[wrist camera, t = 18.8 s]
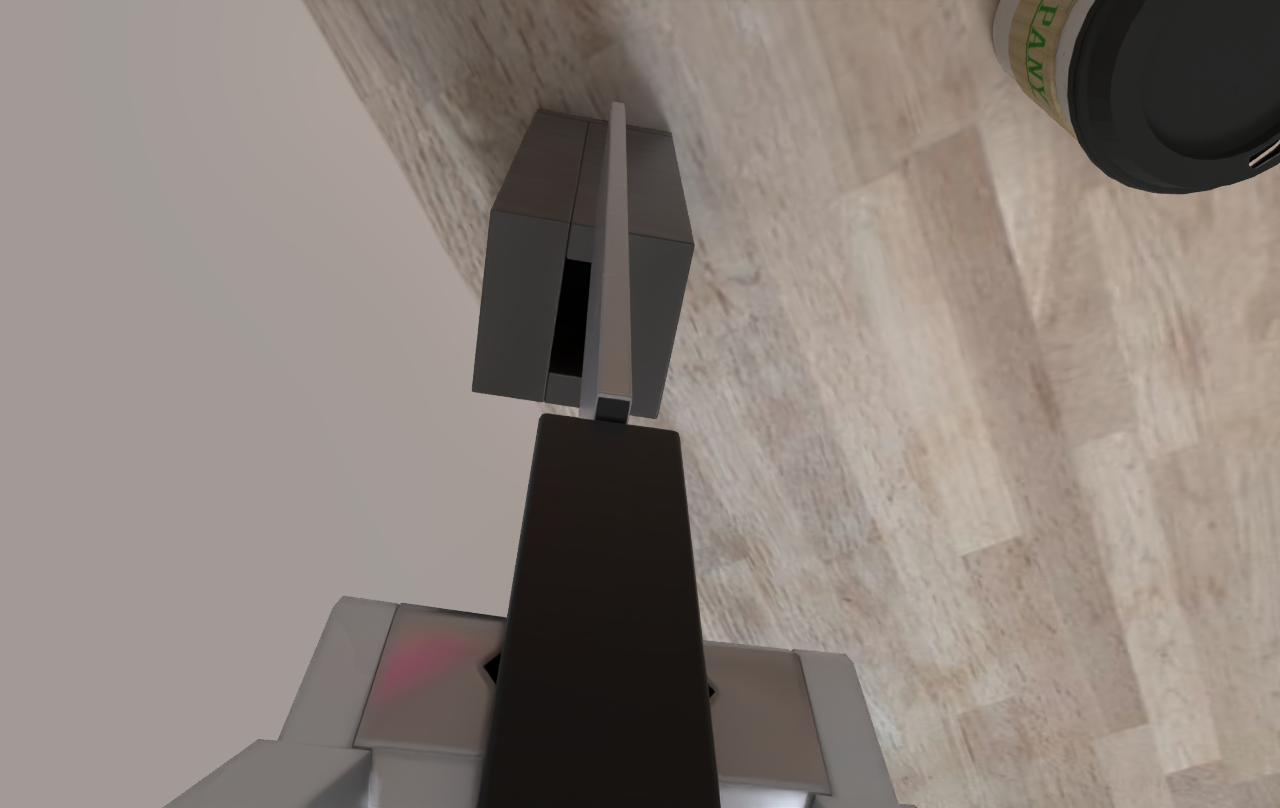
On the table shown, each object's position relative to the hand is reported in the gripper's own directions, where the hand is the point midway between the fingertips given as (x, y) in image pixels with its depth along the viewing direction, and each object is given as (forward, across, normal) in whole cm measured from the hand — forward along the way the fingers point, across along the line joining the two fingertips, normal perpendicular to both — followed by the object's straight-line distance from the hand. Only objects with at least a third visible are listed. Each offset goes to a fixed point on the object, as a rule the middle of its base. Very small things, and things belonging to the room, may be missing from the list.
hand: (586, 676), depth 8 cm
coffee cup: (+42, -21, -5) cm, 47 cm away
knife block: (+42, 0, +7) cm, 42 cm away
